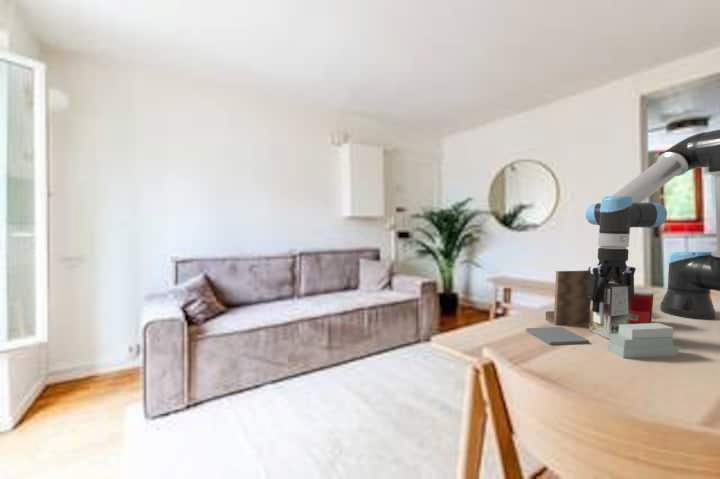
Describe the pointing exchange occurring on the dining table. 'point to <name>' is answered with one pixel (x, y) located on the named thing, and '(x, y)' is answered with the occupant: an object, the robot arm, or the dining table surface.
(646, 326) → the offcut stack
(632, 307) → the canned food
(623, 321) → the coffee box
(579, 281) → the upright wooden block
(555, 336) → the mat
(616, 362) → the dining table surface
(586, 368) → the dining table surface
